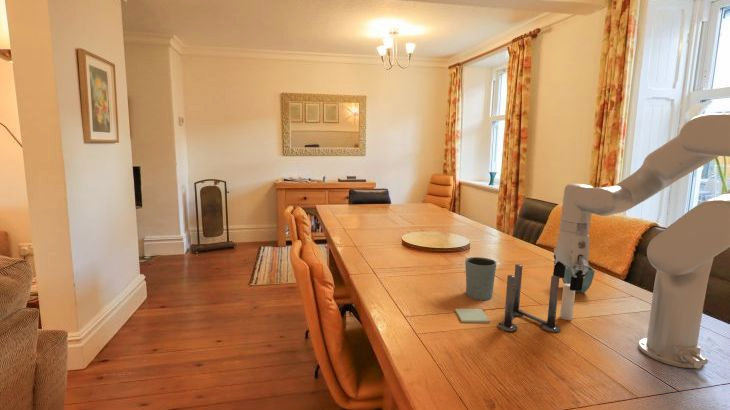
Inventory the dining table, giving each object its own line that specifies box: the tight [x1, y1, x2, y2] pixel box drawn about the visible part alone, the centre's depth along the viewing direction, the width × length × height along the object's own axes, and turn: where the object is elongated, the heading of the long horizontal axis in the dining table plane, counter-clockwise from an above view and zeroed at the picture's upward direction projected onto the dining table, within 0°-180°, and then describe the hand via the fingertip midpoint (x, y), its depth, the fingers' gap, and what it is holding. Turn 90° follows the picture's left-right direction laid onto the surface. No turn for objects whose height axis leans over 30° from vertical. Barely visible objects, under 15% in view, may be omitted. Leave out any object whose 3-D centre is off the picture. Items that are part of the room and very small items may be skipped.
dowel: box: [559, 283, 576, 321], centre depth 113 cm, size 3×3×10 cm
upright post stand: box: [497, 263, 562, 334], centre depth 111 cm, size 15×17×15 cm
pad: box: [455, 308, 491, 324], centre depth 114 cm, size 8×8×1 cm
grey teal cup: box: [465, 256, 498, 301], centre depth 130 cm, size 10×10×12 cm
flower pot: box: [561, 265, 596, 293], centre depth 136 cm, size 9×9×9 cm
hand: (566, 283), depth 113 cm, fingers open, 9 cm apart
